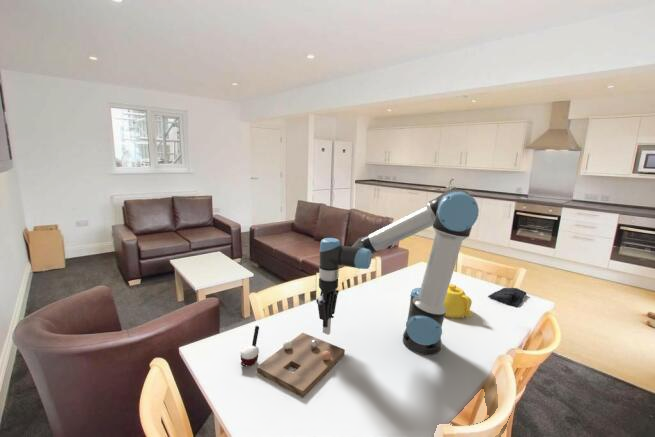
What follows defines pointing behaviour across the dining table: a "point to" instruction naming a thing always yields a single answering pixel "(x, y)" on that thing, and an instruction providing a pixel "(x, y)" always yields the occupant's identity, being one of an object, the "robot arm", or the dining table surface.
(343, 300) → the dining table surface
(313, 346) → the ball
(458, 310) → the teapot
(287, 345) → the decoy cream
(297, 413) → the dining table surface
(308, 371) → the board
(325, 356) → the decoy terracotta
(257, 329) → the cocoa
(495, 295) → the dark slate chunk
